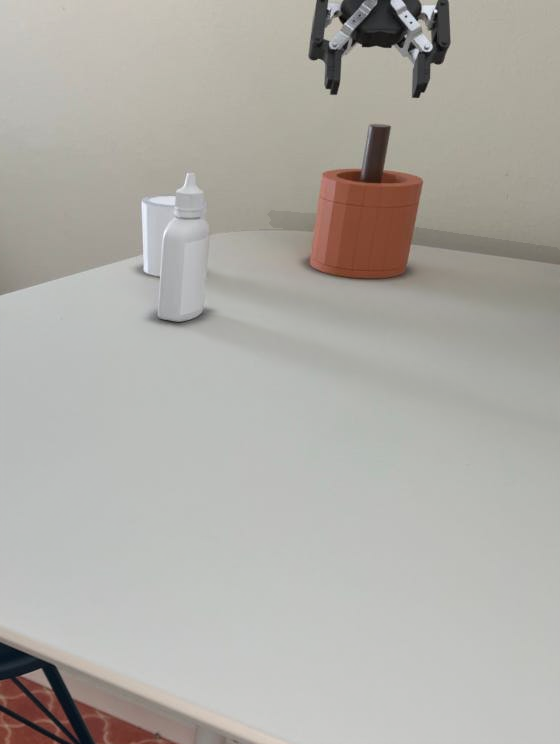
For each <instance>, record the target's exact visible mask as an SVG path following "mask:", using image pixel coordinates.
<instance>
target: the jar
mask: <svg viewBox="0 0 560 744" xmlns="http://www.w3.org/2000/svg"><path fill="white" fill-rule="evenodd" d="M361 171H362V168H341V169H340V168H339V169H332V170H327V171H323V172H322V173H321V174H322V175H321V180H320V186H319V187H320V188H319V194H318V202H317V209H316V216H315V223H314V230H313V236H312V242H311V243H312V244H311V250H310V260H309V265H310V266H311V267H312V268H313V269H314V270H316V271H319V272H321V273H325V274H328V275H332V276H339V277H344V278H351V279H352V278H353V279H368V280H369V279H374V280H375V279H376V280H377V279H389V278H394V277H398V276H401V275H403V274H404V273H405V272H406V269H407V264H408V261H409V257H410V256H409V255H410V250H411V246H412V240H413V237H414V236H413V235H414V231H415V227H416V226H415V225H416V220H417V215H418V211H419V210H418V209H419V204H420V200H421V195H422V191H423V184H424V180H423V179H422V177H419V176H418V175H414V174H410V173H407V172H401V171H395V170H386V169H384V170H383V176H382V182H381V183H365V182H360V177H361Z"/></svg>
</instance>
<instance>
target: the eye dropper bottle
mask: <svg viewBox="0 0 560 744" xmlns="http://www.w3.org/2000/svg"><path fill="white" fill-rule="evenodd" d="M204 194H205V192H204V191H203V190H202V189H201V188H199V187H198V185H197V177H196V173H194V172H187V174H186V177H185V181H184V184H183V186H182V187H180V188H178V189H176V190H175V195H176V197H175V212H174V214H175V215H176V216H175V217H174V219H173V220H172V221H171V222H170V223H169V224H168V225H167V227H166V229H165V231H164V234H163V242H162V255H161V270H160V277H159V289H158V303H157V304H158V305H157V317H158V318H159V319H160V320H165V321H169V322H176V323H182V322H186V321H190V320H193V319H195V318H197V317H199V316H200V315H201V314H202V312H203V311H204V307H205V297H206V285H207V273H208V263H209V251H210V249H209V248H210V238H211V237H210V236H211V228H210V225H209V223H208V222H207V221H206V219H205V220H203V219H201V217H200V216H202V209H203V199H204Z"/></svg>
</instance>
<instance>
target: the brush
mask: <svg viewBox="0 0 560 744" xmlns="http://www.w3.org/2000/svg"><path fill="white" fill-rule="evenodd" d="M391 130H392V126H391V125H390V124H382V123H371V124H369V125H368V129H367V133H366V134H367V135H366V140H365V146H364V152H363V157H362V166H361V169H362V171H361V177H360V182H365V183H381V182H382V176H383V170H385V163H386V158H387V152H388V146H389V142H390V141H389V140H390V135H391Z"/></svg>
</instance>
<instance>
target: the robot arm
mask: <svg viewBox="0 0 560 744" xmlns="http://www.w3.org/2000/svg"><path fill="white" fill-rule="evenodd" d="M336 18H338V20H339V22H340V24H341V25H342V27H341V28H340V30H339V31H338V32H337V33H336V34H335V35H334V36H333V37H332V38H331V40H329V39H325V38H324V37H325V30H326V29H327V28H328V26H330V25H331V24H332V23H333V20H334V19H336ZM450 19H451V18H450V1H449V0H437V1H436V4H422V3H421V1H420V0H342V1H341V2H334V1H329V0H316V1H315V7H314V11H313V15H312V24H311V31H310V38H309V46H308V59H309V60H310V61H312V62H313V61H317V60H321V61H322V62H323V63H324V81H323V82H324V83H323V85H324V88H325V90H329V95H330V96H337V95H338V92H339V88H340V84H341V76H342V58H343V57H344V56H347V55H348V54H349V53H350V52H351V51H352V50H353V49H354V48H355V47H356V46H357V45H358V44H359V45H361V48H373V47H379V48H382V49H383V48H384V49H392V47H394V48H395V49H396V50H397V51H398V52H399V54H400V55H401V56H402V57H403V58H406V57H407V58H408V60H409V61H410V62H411V64H412V65H413V68H412V76H411V77H412V79H411V80H412V81H411V82H412V83H411V98H412V99H419V98H420V97H421V94H423V93H426V90H427V88H428V85H429V83H430V80H431V65H432V64H435V65H437V66H439V65H442V64H443V63H444V62H445V59H446V55H447V52H448V50H449V49H450V46H451V44H452V43H451V42H452V40H451V20H450ZM419 20H421V21H423V23H424V25H425V27H426V30H427V31H429V32H430V37H431V40H429V39H428V37H426V35H425V34H424V33H423V27H422V25H421V24H420V23H419Z"/></svg>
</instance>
